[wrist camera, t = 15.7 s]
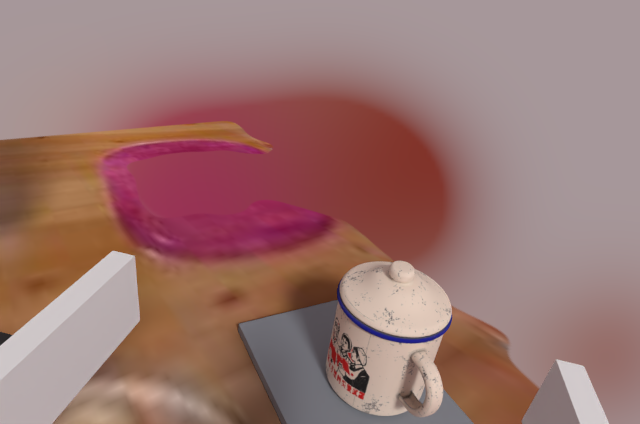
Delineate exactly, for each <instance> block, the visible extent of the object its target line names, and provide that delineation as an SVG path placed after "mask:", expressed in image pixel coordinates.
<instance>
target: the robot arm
mask: <svg viewBox="0 0 640 424" xmlns="http://www.w3.org/2000/svg"><path fill="white" fill-rule="evenodd" d="M139 321H140V313H139V301H138V289H137V277H136V265H135V256H133V255H129V254H125V253H121V252H117V251H112V252H111V253H110V254H108V255H107V256H106V257H105V258H104V259H102V260H101V261H100V262H99V263H98V264H97V265H95V266H94V267H93V268H92V269H91V270H89V271H88V272H87V273H86V274H85V275H83V276H82V277H81V278H80V279H79V280H78V281H76V282H75V283H74V284H73V285H72V286H70V287H69V288H68V289H67V290H66V291H65V292H63V293H62V294H61V295H60V296H59V297H57V298H56V299H55V300H54V301H53V302H51V303H50V304H49V305H48V306H47V307H46V308H44V309H43V310H42V311H41V312H40V313H38V314H37V315H36V316H35V317H34V318H32V319H31V320H30V321H29V322H28V323H27V324H25V325H24V326H23V327H22V328H21V329H19V330H18V331H17V332H16V333H15V334H14V335H10V334H6V333H3V332H0V424H52V423H53V422H54V421H55V420H56V418H57V417H58V416H59V415H60V414H61V413H62V411H63V410H64V409H65V408H66V407H67V406H68V404H69V403H70V402H71V401H72V400H73V398H74V397H75V396H76V395H77V394H78V393H79V391H80V390H81V389H82V388H83V387H84V386H85V384H86V383H87V382H88V381H89V380H90V379H91V377H92V376H93V375H94V374H95V373H96V371H97V370H98V369H99V368H100V367H101V366H102V364H103V363H104V362H105V361H106V360H107V359H108V357H109V356H110V355H111V354H112V353H113V351H114V350H115V349H116V348H117V347H118V346H119V344H120V343H121V342H122V341H123V340H124V339H125V337H126V336H127V335H128V334H129V333H130V332H131V330H132V329H133V328H134V327H135V326H136V324H137V323H138V322H139ZM522 424H609V422H608V420H607V418H606V415H605V413H604V411H603V409H602V407H601V404H600V402H599V400H598V397H597V395H596V393H595V390H594V388H593V386H592V384H591V381H590V379H589V377H588V374H587V372H586V370H585V368H584V366H581V365H577V364H573V363H569V362H565V361H561V360H557V359H556V360H555V362H554V364H553V366H552V367H551V369H550V371H549V373H548V375H547V376H546V378H545V380H544V382H543V384H542V385H541V387H540V389H539V391H538V392H537V394H536V396H535V398H534V400H533V401H532V403H531V405H530V407H529V409H528V410H527V412H526V414H525V416H524V417H523V419H522Z"/></svg>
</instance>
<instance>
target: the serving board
mask: <svg viewBox="0 0 640 424" xmlns="http://www.w3.org/2000/svg"><path fill="white" fill-rule="evenodd" d="M337 304H338V300H335V301H331V302H327V303H323V304H318V305H314V306H310V307H306V308H302V309H298V310H294V311H290V312H286V313H281V314H277V315H273V316H269V317H265V318H261V319H257V320H253V321H249V322H244V323H240V324H239V329H238V332H239V334H240V336H241V338H242V341H243V343H244V345H245V347H246V349H247V351H248V353H249V355H250V358H251V360H252V362H253V364H254V366H255V368H256V370H257V372H258V375H259V377H260V379H261V381H262V383H263V385H264V387H265V389H266V392H267V394H268V396H269V398H270V400H271V402H272V404H273V406H274V409H275V411H276V413H277V415H278V417H279V419H280V421H281V423H282V424H473V422H472V421H471V420H470V419H469V418H468V417H467V416H466V414H465V413H464V412H463V411H462V410H461V409H460V408H459V406H458V405H457V404H456V403H455V402H454V401H453V400H452V398H451V397H450V396H449V395H448V394H447V393H446V392H445V390H444V389H443V399H442V403H441V405H440V407H439V409H438V410H437V411H436V412H435V413H434V414H432V415H430V416H426V417H416V416H414V415H412V414H411V413H409V412H408V411H406V412H404V413H401V414H398V415H393V416H377V415H371V414H368V413H365V412H362V411H360V410H357V409H355V408H354V407H352V406H350V405H349V404H347V403H346V402H345V401H344V400H342V399H341V398H340V397H339V396H338V395H337V394H336V392H335V391H334V390H333V388H332V386H331V385H330V383H329V380H328V378H327V374H326V360H327V355H328V349H329V344H330V339H331V334H332V329H333V324H334V319H335V314H336V309H337ZM425 396H426V389H425V387H424V390H423V393H422V395H421V397H420V399H419V401H420V402H421V403H422V404H423V403H424V400H425Z"/></svg>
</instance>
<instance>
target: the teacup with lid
mask: <svg viewBox="0 0 640 424" xmlns="http://www.w3.org/2000/svg"><path fill="white" fill-rule="evenodd" d="M337 298H338V304H337V309H336V314H335V319H334V324H333V329H332V334H331V339H330V344H329V349H328V355H327V360H326V374H327V378H328V380H329V383H330V385H331V386H332V388H333V390H334V391H335V392H336V394H337V395H338V396H339V397H340V398H341V399H342V400H344V401H345V402H346V403H347V404H349V405H350V406H352V407H354V408H355V409H357V410H360V411H362V412H365V413H368V414H371V415H377V416H393V415H398V414H401V413H404V412H406V411H408V412H409V413H411V414H412V415H414V416H416V417H426V416H430V415H432V414H434V413H435V412H436V411H437V410H438V409H439V407H440V405H441V403H442V399H443V385H442V381H441V377H440V374H439V372H438V370H437V368H436V366H435V364H434V363H433V362H434V359H435V356H436V353H437V351H438V348H439V345H440V342H441V339H442V337H443V334H444V333H445V332H446V331H447V330H448V328H449V326H450V324H451V321H452V308H451V304H450V301H449V298H448V296H447V295H446V293H445V292H444V290H443V289H442V288H441V287H440V286H439V285H438V284H437V283H436V282H435V281H434V280H433V279H431V278H430V277H428V276H427V275H425V274H424V273H422V272H420V271H418V270H416V269H414V268H413V266H412V265H411V264H409V263H407V262H404V261H395V262H393V263H392V262H368V263H364V264H360V265H358V266H356V267H354V268H352V269H351V270H349V271H348V272H347V273H346V274H345V275H344V276H343V278H342V279H341V281H340V283H339V285H338V288H337ZM424 387H425V389H426V396H425V400H424V403H423V404H422V403H421V402H420V401H419V399H420V397H421V395H422V393H423V390H424Z"/></svg>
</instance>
